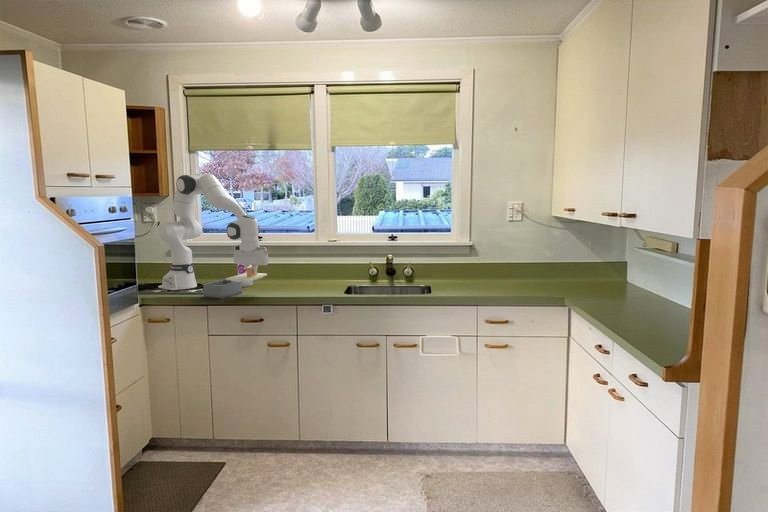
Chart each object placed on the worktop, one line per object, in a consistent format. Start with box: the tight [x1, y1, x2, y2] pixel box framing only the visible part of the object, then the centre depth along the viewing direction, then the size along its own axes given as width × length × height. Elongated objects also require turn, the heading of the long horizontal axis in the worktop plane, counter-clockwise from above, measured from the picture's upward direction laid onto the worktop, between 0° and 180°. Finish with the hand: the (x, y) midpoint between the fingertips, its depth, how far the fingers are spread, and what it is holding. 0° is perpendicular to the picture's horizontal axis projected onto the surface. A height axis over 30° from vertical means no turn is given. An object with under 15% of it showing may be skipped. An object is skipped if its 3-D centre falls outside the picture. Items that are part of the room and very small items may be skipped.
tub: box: [202, 278, 243, 300], centre depth 268 cm, size 12×16×7 cm
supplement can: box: [236, 264, 254, 288], centre depth 294 cm, size 8×8×15 cm
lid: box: [225, 266, 268, 282], centre depth 260 cm, size 13×17×6 cm
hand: (252, 273), depth 259 cm, fingers closed on lid
